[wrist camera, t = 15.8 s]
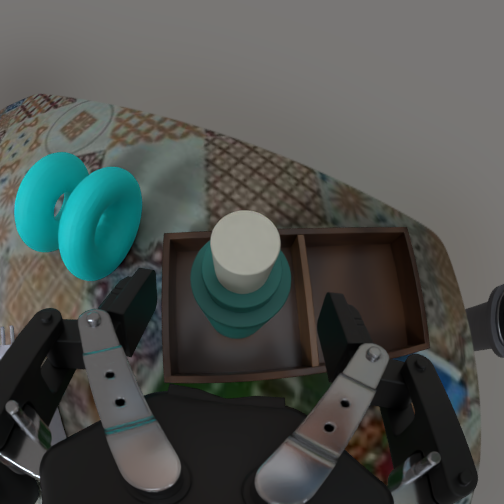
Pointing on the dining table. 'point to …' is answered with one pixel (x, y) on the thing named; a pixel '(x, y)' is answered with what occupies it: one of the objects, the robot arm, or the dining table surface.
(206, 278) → the bottle
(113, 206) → the donuts
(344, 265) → the tray
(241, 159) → the dining table surface
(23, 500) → the cola bottle
